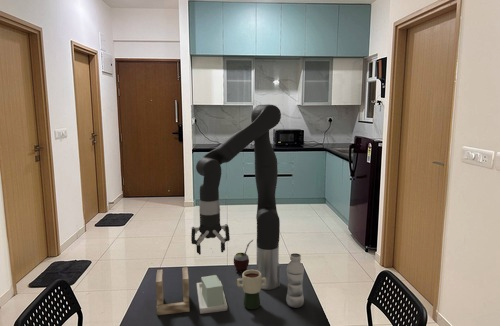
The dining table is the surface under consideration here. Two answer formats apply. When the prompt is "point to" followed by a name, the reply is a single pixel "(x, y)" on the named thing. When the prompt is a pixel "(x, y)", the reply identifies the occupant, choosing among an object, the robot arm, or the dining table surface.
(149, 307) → the dining table surface
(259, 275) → the character mug
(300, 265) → the plastic bottle
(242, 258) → the mate gourd
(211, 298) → the green block with tab
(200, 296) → the tray
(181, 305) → the bay
